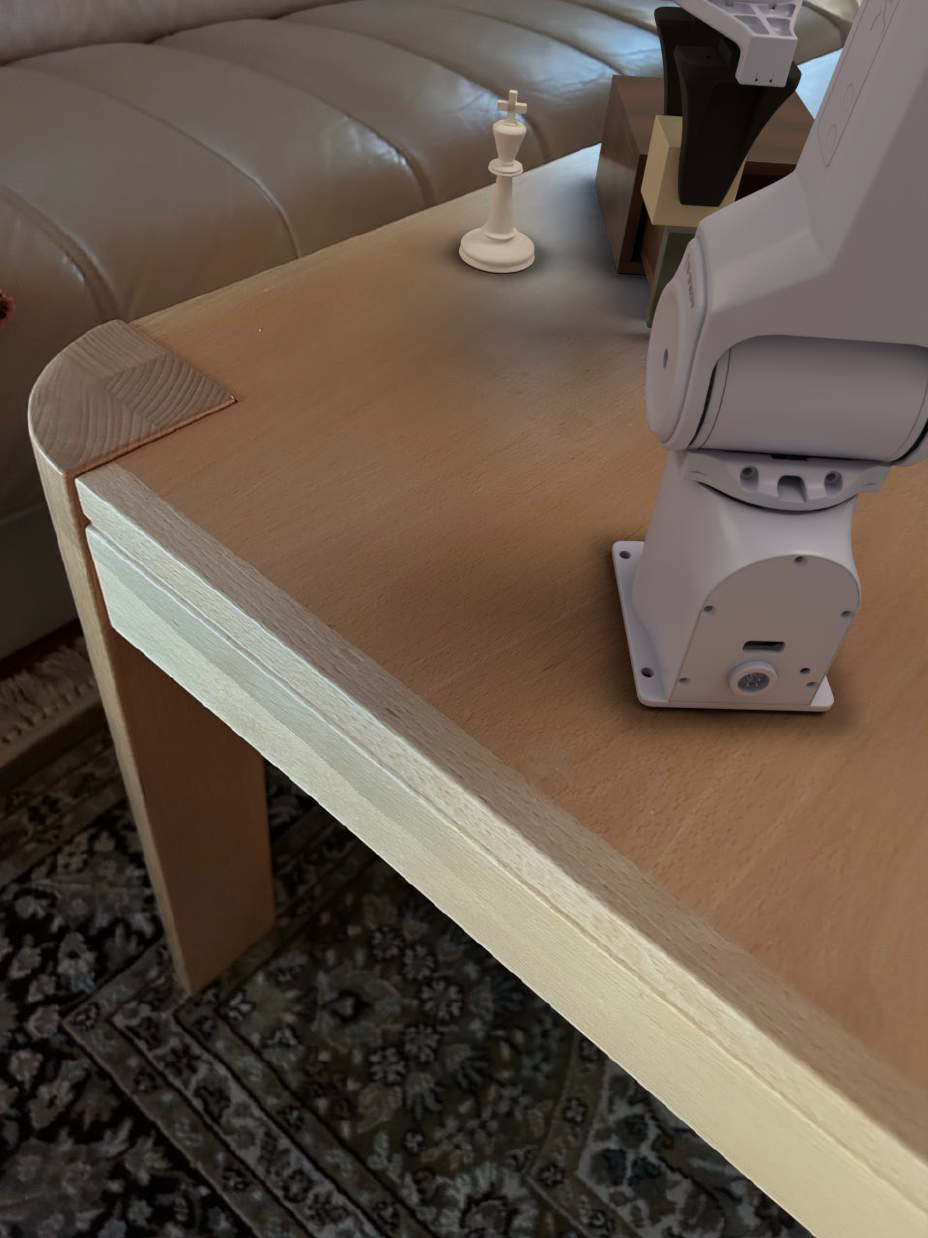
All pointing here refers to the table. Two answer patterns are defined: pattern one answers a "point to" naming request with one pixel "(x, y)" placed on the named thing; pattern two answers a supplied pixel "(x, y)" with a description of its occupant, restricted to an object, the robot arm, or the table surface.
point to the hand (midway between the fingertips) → (690, 183)
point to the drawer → (676, 243)
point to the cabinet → (629, 147)
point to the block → (672, 179)
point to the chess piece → (501, 203)
